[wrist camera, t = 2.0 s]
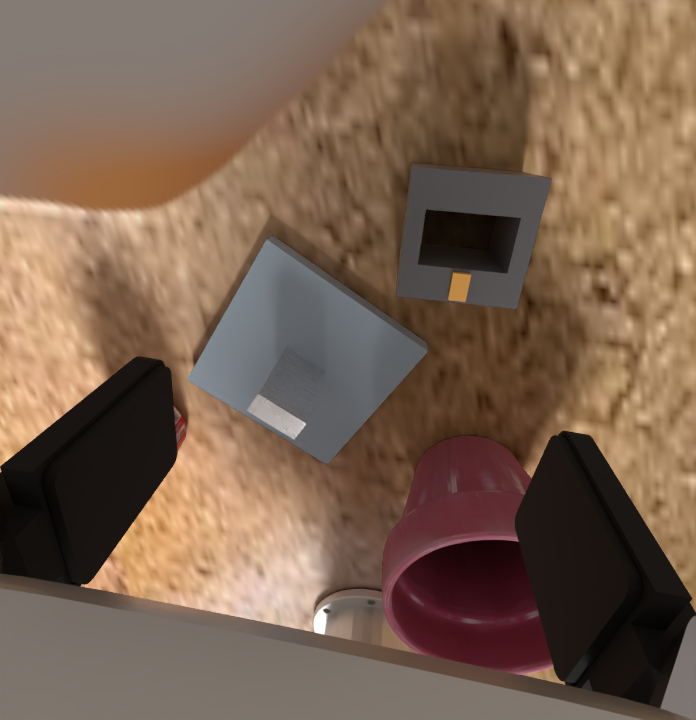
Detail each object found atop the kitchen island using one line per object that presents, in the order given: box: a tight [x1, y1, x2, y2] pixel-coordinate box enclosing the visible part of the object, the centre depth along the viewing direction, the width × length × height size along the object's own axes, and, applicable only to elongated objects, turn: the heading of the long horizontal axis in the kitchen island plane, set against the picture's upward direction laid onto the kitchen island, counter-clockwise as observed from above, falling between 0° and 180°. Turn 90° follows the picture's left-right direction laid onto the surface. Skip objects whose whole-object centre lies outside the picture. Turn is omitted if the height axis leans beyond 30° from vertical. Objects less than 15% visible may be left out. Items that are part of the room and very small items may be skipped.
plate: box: [187, 235, 428, 465], centre depth 34 cm, size 14×14×2 cm
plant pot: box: [382, 436, 554, 674], centre depth 32 cm, size 14×14×13 cm
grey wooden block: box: [247, 347, 325, 439], centre depth 30 cm, size 4×2×7 cm, turn 56°
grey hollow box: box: [396, 163, 552, 309], centre depth 26 cm, size 7×7×6 cm
